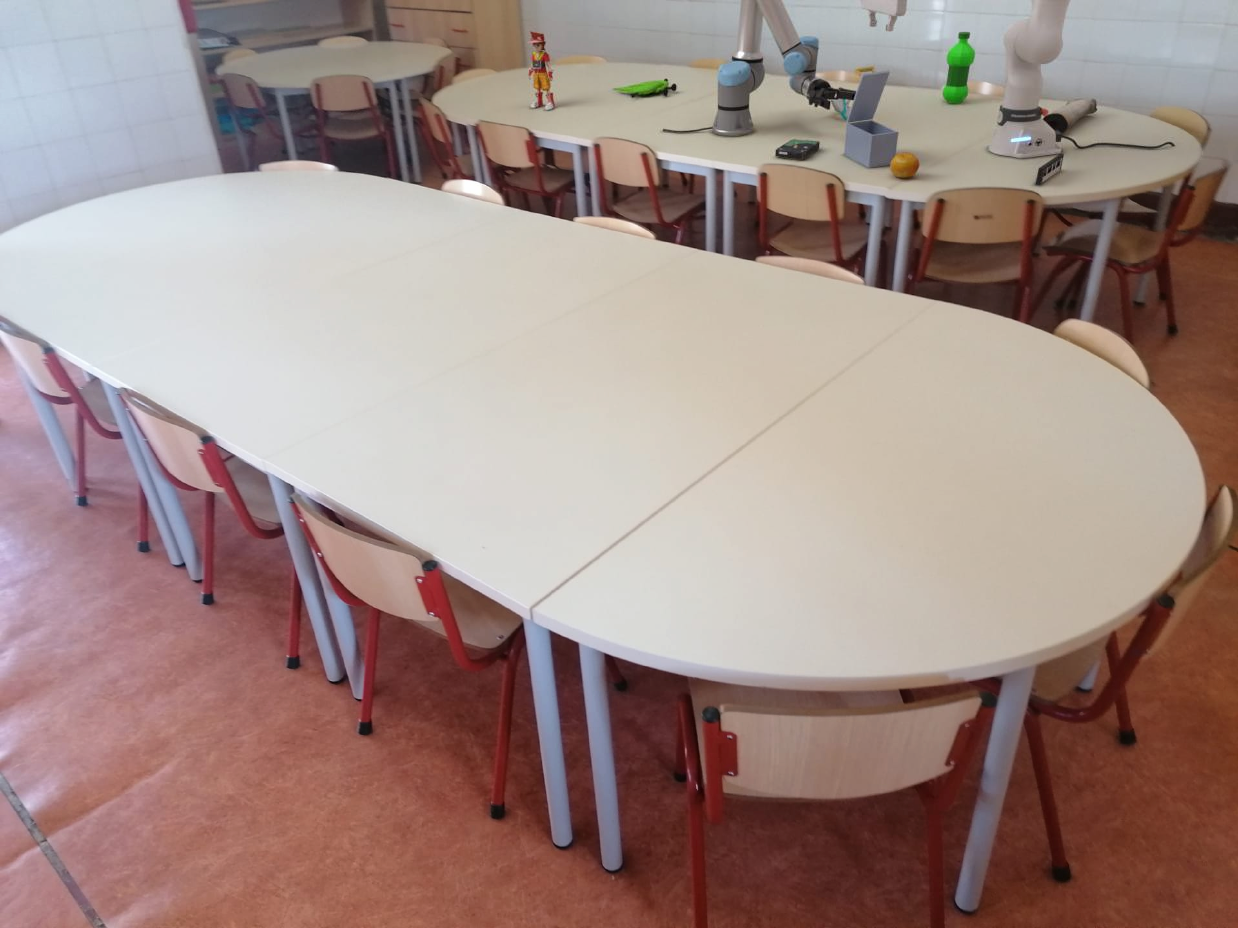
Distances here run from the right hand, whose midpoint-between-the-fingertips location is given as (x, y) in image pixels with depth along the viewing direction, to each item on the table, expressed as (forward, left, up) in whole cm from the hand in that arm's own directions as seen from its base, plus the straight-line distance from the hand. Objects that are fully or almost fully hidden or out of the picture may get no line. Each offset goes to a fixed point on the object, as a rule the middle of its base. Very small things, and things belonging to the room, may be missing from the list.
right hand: (880, 29), depth 278 cm
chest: (0, +1, -40) cm, 40 cm away
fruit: (-6, +21, -40) cm, 45 cm away
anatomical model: (-5, -55, -40) cm, 68 cm away
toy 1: (+113, -100, -40) cm, 156 cm away
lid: (+1, -3, -21) cm, 21 cm away
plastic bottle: (-52, -67, -40) cm, 93 cm away
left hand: (+4, -16, -26) cm, 30 cm away
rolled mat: (-79, -26, -40) cm, 92 cm away
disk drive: (+22, -10, -40) cm, 46 cm away
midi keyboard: (-48, +31, -40) cm, 69 cm away
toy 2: (+70, -117, -40) cm, 142 cm away
